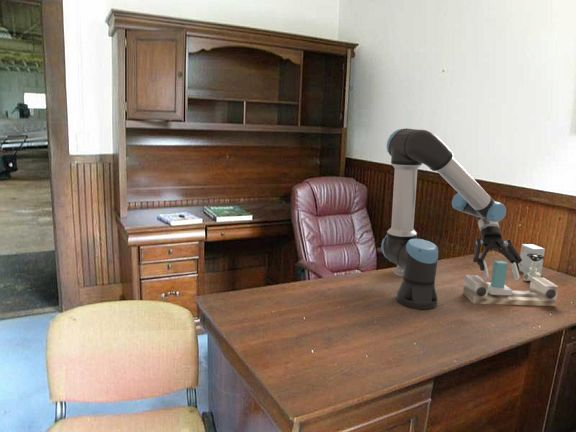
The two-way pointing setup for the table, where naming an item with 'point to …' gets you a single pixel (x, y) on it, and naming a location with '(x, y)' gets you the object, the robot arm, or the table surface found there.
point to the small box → (527, 261)
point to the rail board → (537, 295)
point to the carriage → (499, 280)
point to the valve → (533, 267)
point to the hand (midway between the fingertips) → (502, 278)
